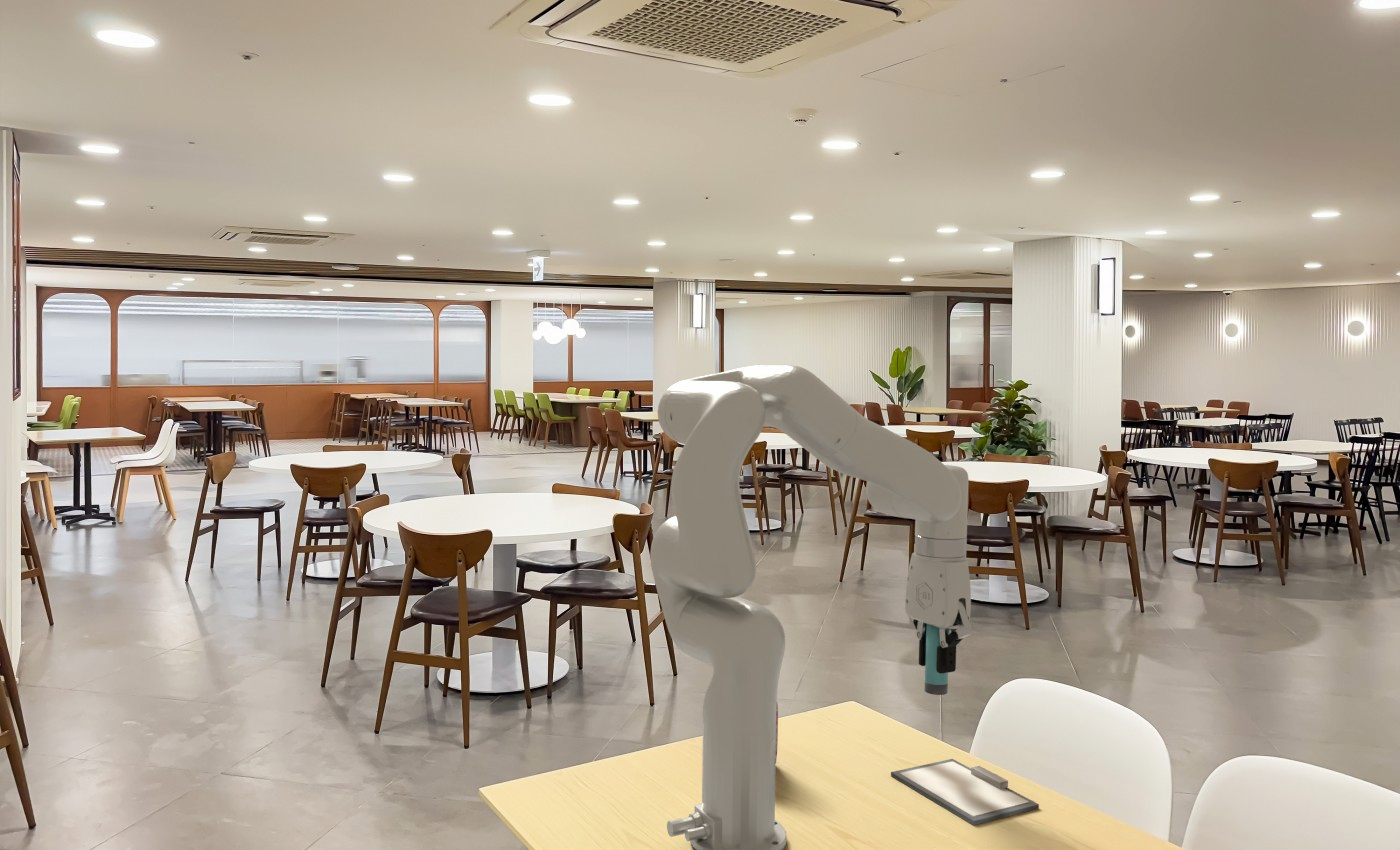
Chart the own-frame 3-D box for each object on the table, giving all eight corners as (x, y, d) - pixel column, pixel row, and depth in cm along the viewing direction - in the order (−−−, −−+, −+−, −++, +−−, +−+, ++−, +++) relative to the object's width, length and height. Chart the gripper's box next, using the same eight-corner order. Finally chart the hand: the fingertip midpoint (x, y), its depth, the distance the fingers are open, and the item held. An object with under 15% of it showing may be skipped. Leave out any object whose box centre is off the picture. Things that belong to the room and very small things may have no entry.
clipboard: (973, 825, 133) (973, 813, 133) (890, 775, 149) (891, 764, 149) (1038, 808, 139) (1039, 796, 139) (952, 762, 155) (952, 751, 155)
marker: (937, 696, 146) (940, 616, 146) (919, 690, 149) (921, 611, 148) (952, 692, 148) (955, 613, 148) (934, 686, 151) (937, 609, 151)
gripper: (886, 540, 153) (883, 656, 154) (958, 559, 139) (954, 687, 139) (924, 537, 157) (921, 651, 158) (999, 555, 142) (994, 680, 143)
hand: (936, 667), depth 148 cm, fingers closed on marker, 3 cm apart
